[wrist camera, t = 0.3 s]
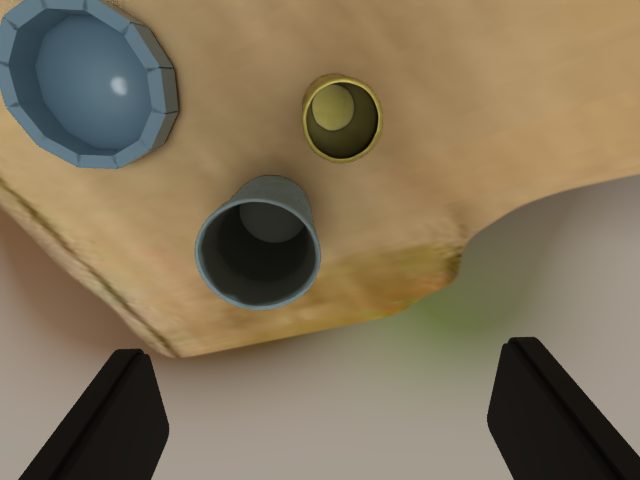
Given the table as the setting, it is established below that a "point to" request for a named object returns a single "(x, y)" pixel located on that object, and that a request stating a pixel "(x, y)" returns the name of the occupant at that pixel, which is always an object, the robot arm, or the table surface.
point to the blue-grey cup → (260, 245)
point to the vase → (341, 118)
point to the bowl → (86, 81)
